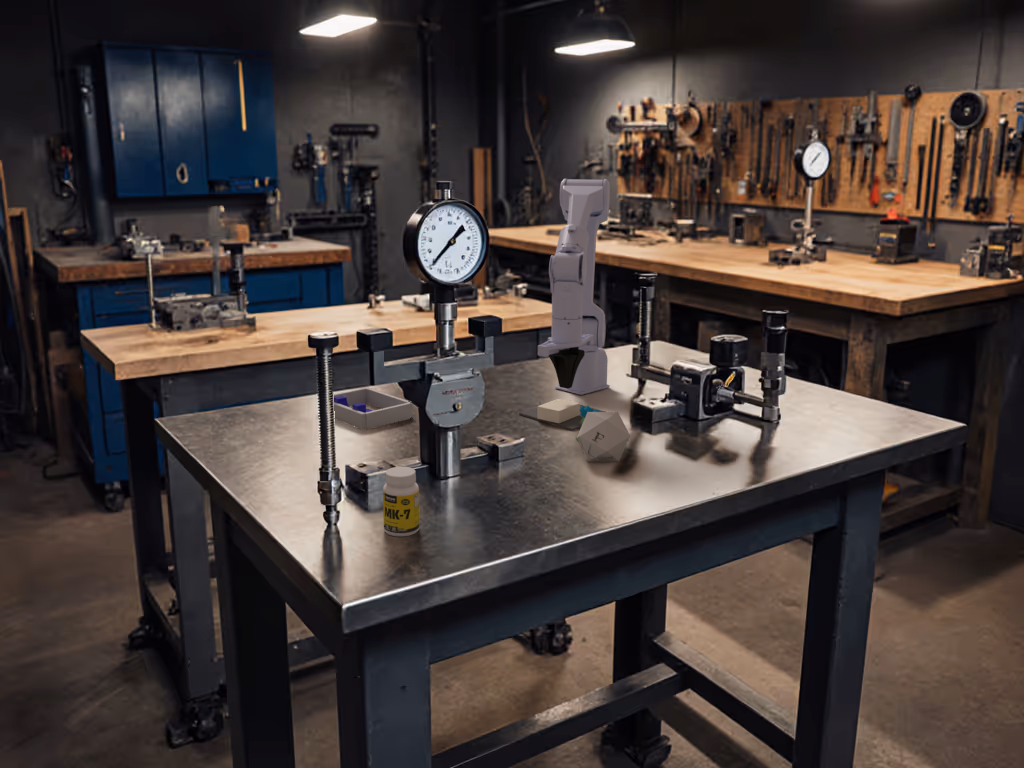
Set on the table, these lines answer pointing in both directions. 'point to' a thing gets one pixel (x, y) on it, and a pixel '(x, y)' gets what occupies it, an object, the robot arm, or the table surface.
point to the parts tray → (390, 413)
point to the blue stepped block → (357, 406)
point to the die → (603, 436)
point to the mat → (568, 424)
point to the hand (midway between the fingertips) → (565, 387)
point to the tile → (558, 410)
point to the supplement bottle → (401, 502)
